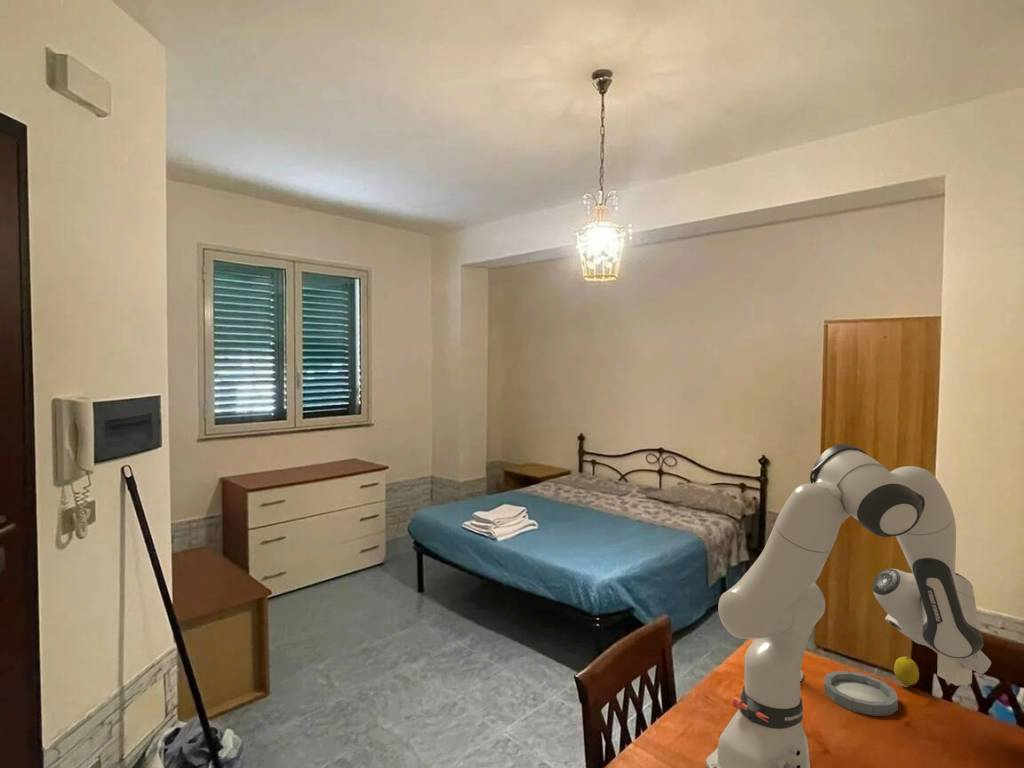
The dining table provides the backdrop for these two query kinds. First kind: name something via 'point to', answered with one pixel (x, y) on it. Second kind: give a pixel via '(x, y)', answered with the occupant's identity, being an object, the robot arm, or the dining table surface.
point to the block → (953, 671)
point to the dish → (861, 693)
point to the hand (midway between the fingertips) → (956, 660)
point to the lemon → (906, 671)
